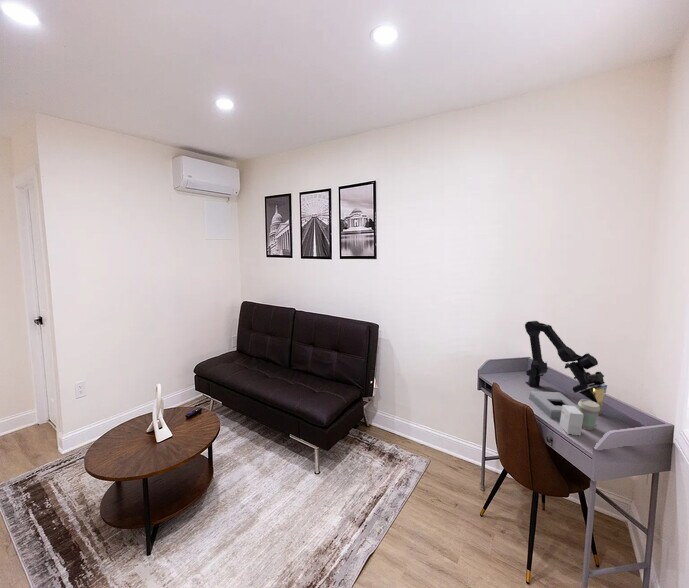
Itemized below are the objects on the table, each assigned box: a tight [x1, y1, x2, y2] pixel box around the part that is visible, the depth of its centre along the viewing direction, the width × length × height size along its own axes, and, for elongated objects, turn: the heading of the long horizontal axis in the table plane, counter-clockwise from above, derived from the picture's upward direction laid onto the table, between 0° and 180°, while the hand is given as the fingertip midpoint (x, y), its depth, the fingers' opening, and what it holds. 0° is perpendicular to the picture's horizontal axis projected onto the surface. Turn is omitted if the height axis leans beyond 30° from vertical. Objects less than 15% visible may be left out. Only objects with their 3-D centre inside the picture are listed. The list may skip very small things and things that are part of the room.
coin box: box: [528, 390, 579, 420], centre depth 169 cm, size 20×16×4 cm
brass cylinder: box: [591, 387, 605, 416], centre depth 166 cm, size 5×5×13 cm
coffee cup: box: [577, 398, 600, 431], centre depth 153 cm, size 8×8×12 cm
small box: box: [559, 404, 584, 436], centre depth 149 cm, size 8×6×10 cm
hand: (599, 401), depth 165 cm, fingers closed on brass cylinder, 5 cm apart
